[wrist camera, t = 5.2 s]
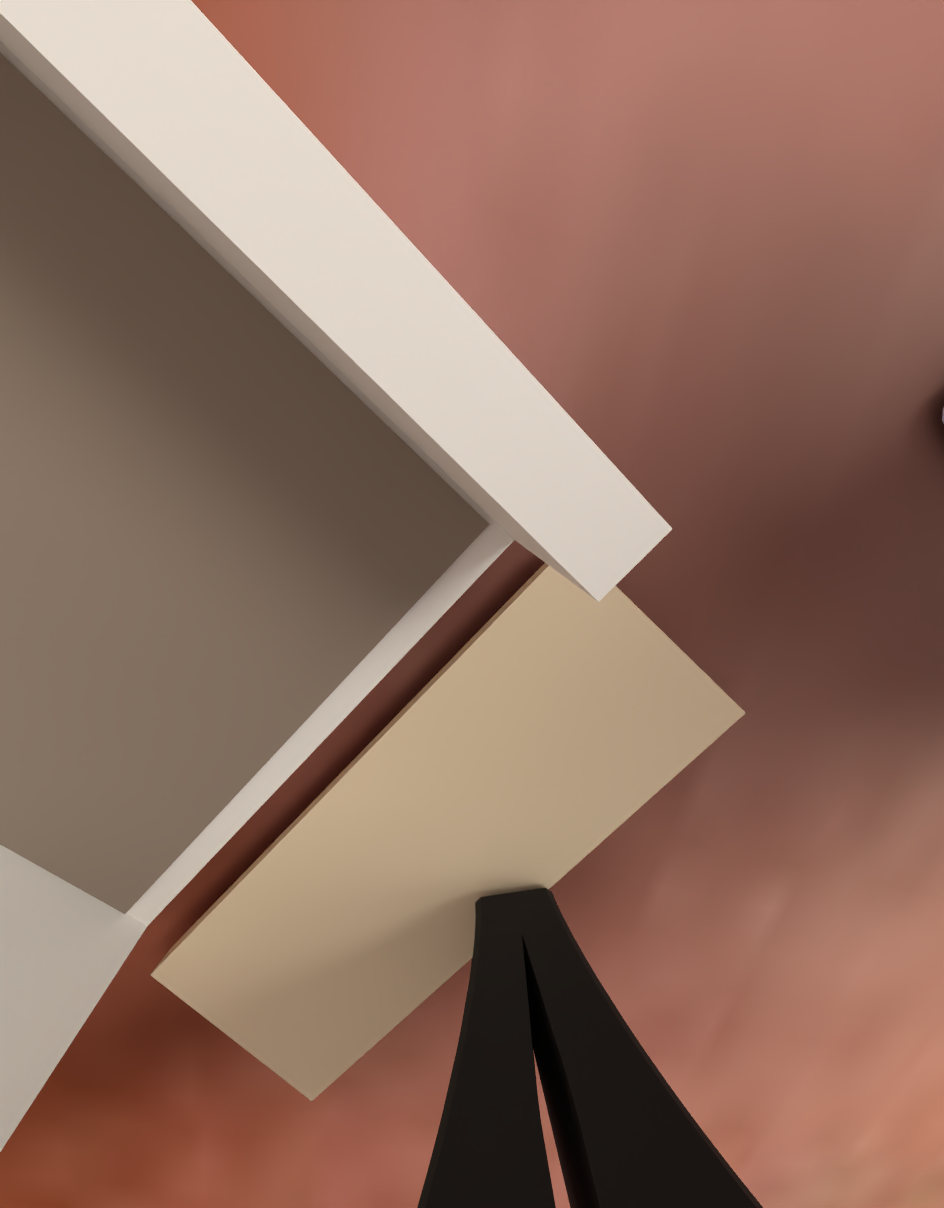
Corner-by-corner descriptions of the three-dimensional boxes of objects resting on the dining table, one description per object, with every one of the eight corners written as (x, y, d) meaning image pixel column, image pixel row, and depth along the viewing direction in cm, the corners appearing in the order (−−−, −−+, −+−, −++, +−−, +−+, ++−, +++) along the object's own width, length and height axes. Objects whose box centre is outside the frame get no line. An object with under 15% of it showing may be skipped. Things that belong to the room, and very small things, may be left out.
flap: (564, 541, 8) (725, 698, 9) (173, 943, 10) (323, 1062, 10) (571, 542, 8) (746, 713, 8) (150, 975, 9) (312, 1101, 10)
